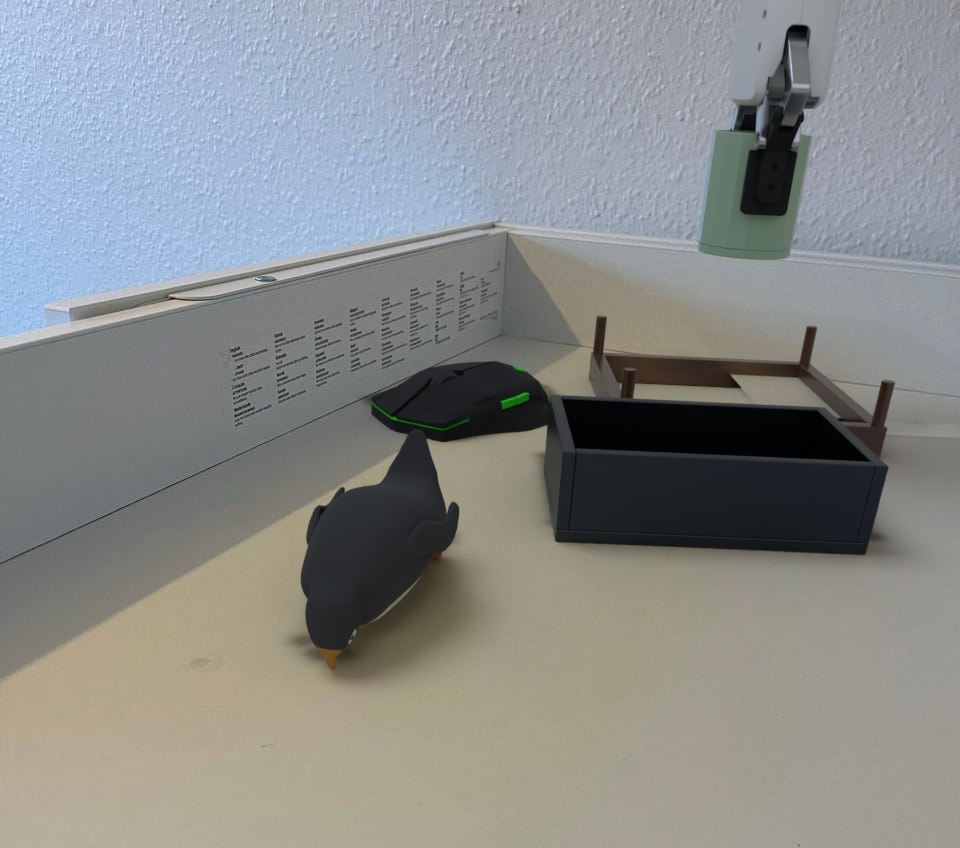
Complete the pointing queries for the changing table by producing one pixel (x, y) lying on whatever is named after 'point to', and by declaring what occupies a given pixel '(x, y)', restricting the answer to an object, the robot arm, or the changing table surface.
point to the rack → (717, 373)
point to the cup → (721, 212)
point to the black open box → (708, 475)
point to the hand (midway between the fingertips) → (750, 206)
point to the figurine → (373, 547)
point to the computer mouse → (464, 401)
